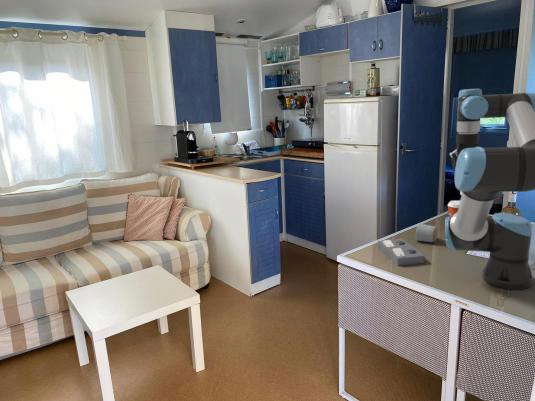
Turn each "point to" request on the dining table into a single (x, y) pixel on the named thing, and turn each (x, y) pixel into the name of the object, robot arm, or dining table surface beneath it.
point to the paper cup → (453, 207)
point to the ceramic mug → (426, 233)
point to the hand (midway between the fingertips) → (464, 195)
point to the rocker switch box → (410, 252)
